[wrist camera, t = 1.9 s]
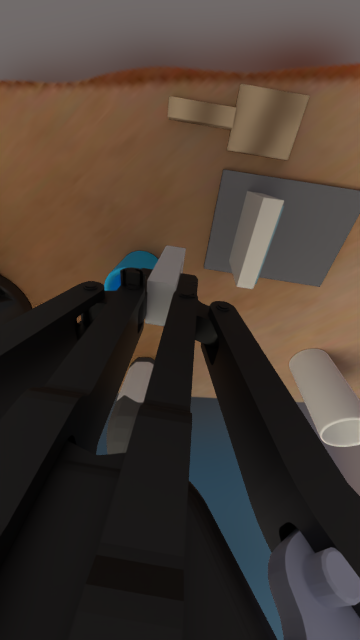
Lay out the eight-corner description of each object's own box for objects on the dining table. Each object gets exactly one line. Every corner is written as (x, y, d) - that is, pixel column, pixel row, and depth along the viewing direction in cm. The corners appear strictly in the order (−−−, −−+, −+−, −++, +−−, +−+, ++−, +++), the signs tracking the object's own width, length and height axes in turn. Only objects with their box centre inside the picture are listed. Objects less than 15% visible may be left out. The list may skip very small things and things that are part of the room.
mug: (123, 244, 37) (105, 260, 30) (169, 257, 38) (161, 276, 31) (117, 303, 44) (101, 326, 37) (156, 313, 44) (148, 338, 38)
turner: (167, 140, 29) (165, 138, 28) (172, 75, 25) (171, 69, 24) (285, 160, 29) (289, 159, 28) (306, 98, 26) (311, 94, 24)
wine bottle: (128, 374, 56) (67, 535, 31) (133, 352, 51) (68, 520, 26) (158, 382, 56) (122, 546, 32) (166, 362, 52) (133, 533, 27)
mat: (203, 266, 38) (203, 268, 37) (223, 169, 30) (223, 169, 29) (316, 283, 38) (319, 286, 37) (365, 191, 30) (371, 192, 29)
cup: (283, 357, 48) (313, 427, 35) (323, 342, 45) (373, 413, 32) (296, 379, 51) (328, 450, 38) (333, 367, 48) (383, 440, 35)
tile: (228, 260, 36) (236, 286, 28) (247, 190, 30) (263, 197, 22) (243, 262, 36) (255, 289, 28) (264, 193, 30) (287, 201, 22)
